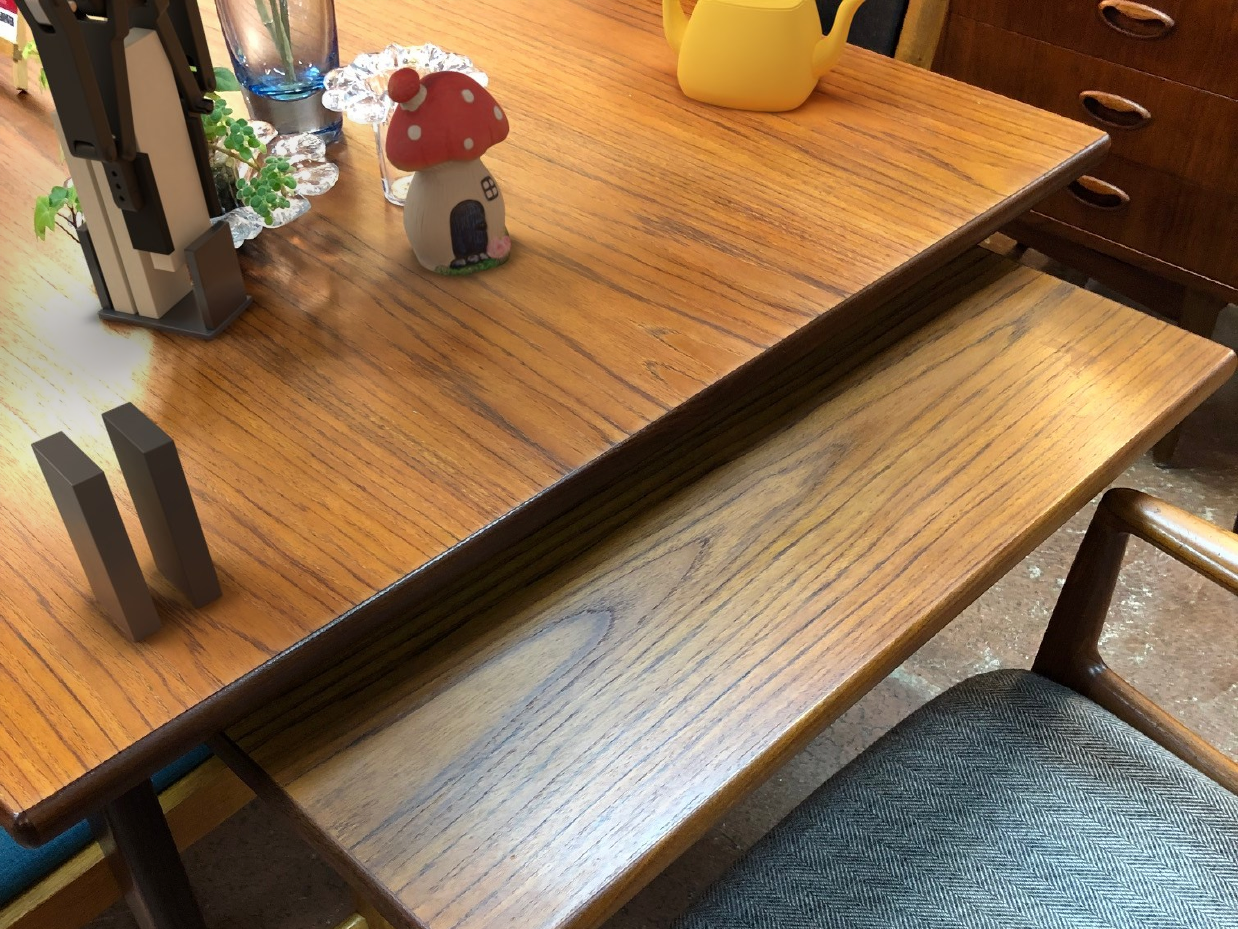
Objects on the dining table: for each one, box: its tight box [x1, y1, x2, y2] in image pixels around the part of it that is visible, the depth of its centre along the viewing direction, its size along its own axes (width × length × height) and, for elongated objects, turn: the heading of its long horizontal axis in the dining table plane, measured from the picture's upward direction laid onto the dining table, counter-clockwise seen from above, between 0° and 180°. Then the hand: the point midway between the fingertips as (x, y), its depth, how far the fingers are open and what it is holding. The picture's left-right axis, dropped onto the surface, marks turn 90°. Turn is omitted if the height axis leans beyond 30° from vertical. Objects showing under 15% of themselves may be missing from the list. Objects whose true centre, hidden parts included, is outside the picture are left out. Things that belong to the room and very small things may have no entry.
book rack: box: [75, 219, 254, 342], centre depth 83 cm, size 9×6×7 cm, turn 72°
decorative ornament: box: [384, 67, 512, 276], centre depth 87 cm, size 9×7×15 cm
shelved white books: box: [49, 108, 193, 319], centre depth 81 cm, size 4×4×14 cm
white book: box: [124, 27, 213, 272], centre depth 77 cm, size 2×5×14 cm, turn 162°
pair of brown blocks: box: [30, 401, 224, 643], centre depth 61 cm, size 5×4×11 cm
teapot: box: [661, 0, 866, 113], centre depth 113 cm, size 22×16×11 cm
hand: (178, 229), depth 80 cm, fingers closed on white book, 5 cm apart
